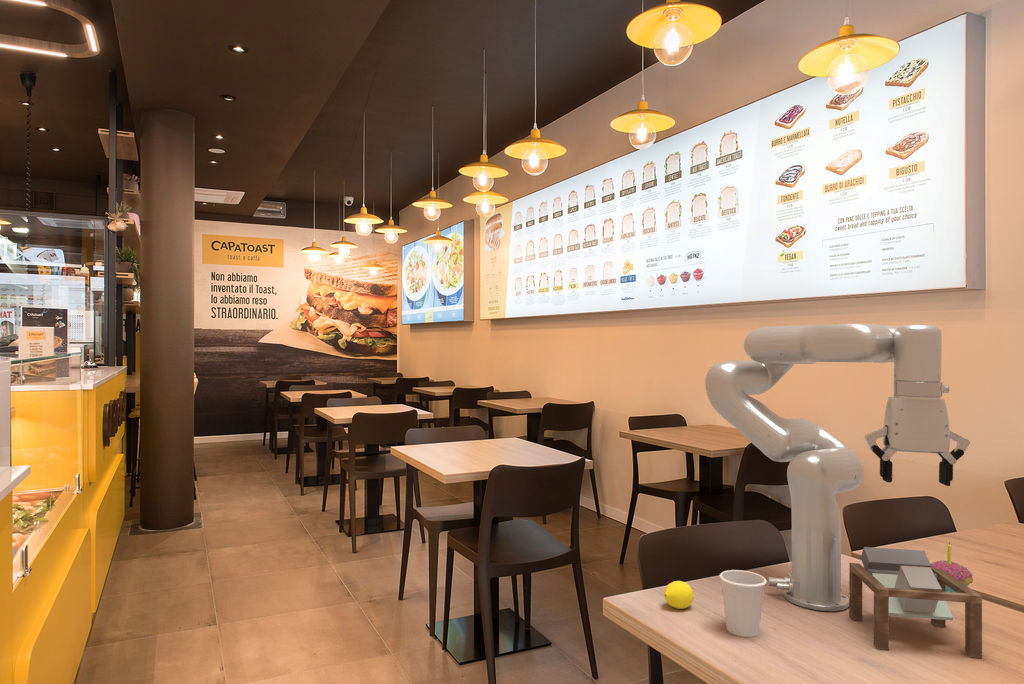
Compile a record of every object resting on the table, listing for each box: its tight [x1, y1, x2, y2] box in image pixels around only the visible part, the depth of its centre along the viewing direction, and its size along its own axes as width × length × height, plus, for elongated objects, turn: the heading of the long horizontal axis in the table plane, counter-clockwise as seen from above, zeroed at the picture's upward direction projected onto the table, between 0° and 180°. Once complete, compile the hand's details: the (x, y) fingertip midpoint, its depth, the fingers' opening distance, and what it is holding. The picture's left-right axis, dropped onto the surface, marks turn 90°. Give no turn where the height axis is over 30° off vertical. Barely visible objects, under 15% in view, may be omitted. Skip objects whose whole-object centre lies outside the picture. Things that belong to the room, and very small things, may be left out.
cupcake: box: [930, 541, 974, 593], centre depth 142 cm, size 9×8×12 cm
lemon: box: [663, 580, 695, 610], centre depth 132 cm, size 7×5×5 cm
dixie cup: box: [719, 569, 768, 638], centre depth 122 cm, size 8×8×10 cm
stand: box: [848, 562, 983, 659], centre depth 120 cm, size 17×15×11 cm
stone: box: [894, 566, 942, 613], centre depth 117 cm, size 5×5×6 cm
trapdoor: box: [860, 546, 954, 621], centre depth 123 cm, size 12×14×3 cm
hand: (915, 482), depth 120 cm, fingers open, 9 cm apart
